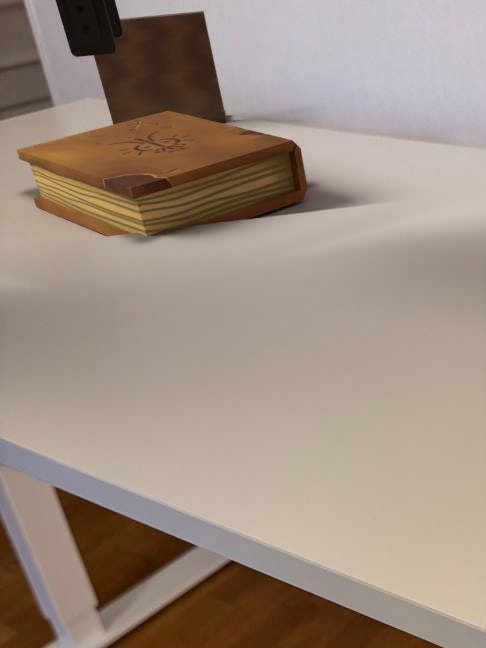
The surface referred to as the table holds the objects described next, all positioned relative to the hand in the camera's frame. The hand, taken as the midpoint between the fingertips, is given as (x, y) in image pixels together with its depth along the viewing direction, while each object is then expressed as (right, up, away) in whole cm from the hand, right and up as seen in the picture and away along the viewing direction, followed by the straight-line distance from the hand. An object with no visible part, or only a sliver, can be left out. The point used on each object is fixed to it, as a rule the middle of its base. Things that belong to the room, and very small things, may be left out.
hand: (98, 43), depth 71 cm
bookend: (-11, +22, +51) cm, 56 cm away
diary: (-3, 0, +27) cm, 27 cm away
